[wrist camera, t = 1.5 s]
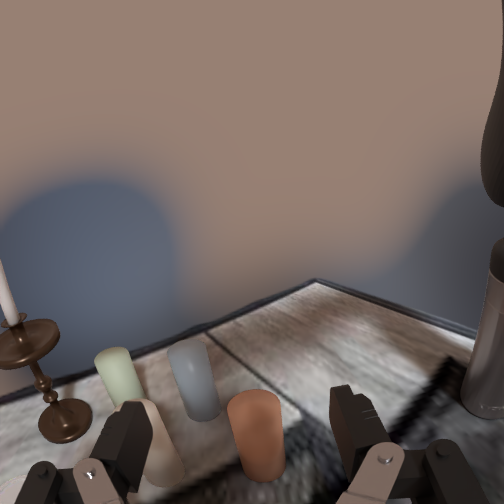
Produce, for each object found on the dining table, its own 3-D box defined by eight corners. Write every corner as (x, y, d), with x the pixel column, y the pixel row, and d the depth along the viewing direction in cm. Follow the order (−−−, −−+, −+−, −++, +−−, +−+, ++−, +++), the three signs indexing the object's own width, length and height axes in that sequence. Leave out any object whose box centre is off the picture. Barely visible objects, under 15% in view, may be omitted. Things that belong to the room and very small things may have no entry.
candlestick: (101, 395, 40) (29, 159, 30) (95, 446, 30) (-12, 158, 20) (44, 401, 38) (-33, 182, 27) (29, 448, 28) (-79, 190, 17)
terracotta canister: (259, 444, 31) (247, 383, 28) (294, 459, 28) (290, 398, 25) (234, 471, 28) (216, 412, 25) (270, 488, 25) (260, 433, 22)
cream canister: (166, 451, 31) (137, 392, 28) (193, 469, 28) (166, 411, 25) (138, 472, 27) (102, 415, 24) (164, 494, 24) (129, 439, 21)
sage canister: (139, 399, 40) (116, 343, 37) (158, 412, 37) (135, 354, 34) (115, 415, 36) (88, 359, 33) (133, 430, 34) (105, 372, 31)
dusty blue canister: (203, 393, 41) (187, 335, 38) (228, 405, 38) (214, 345, 35) (180, 412, 37) (159, 353, 34) (205, 426, 34) (185, 366, 32)
